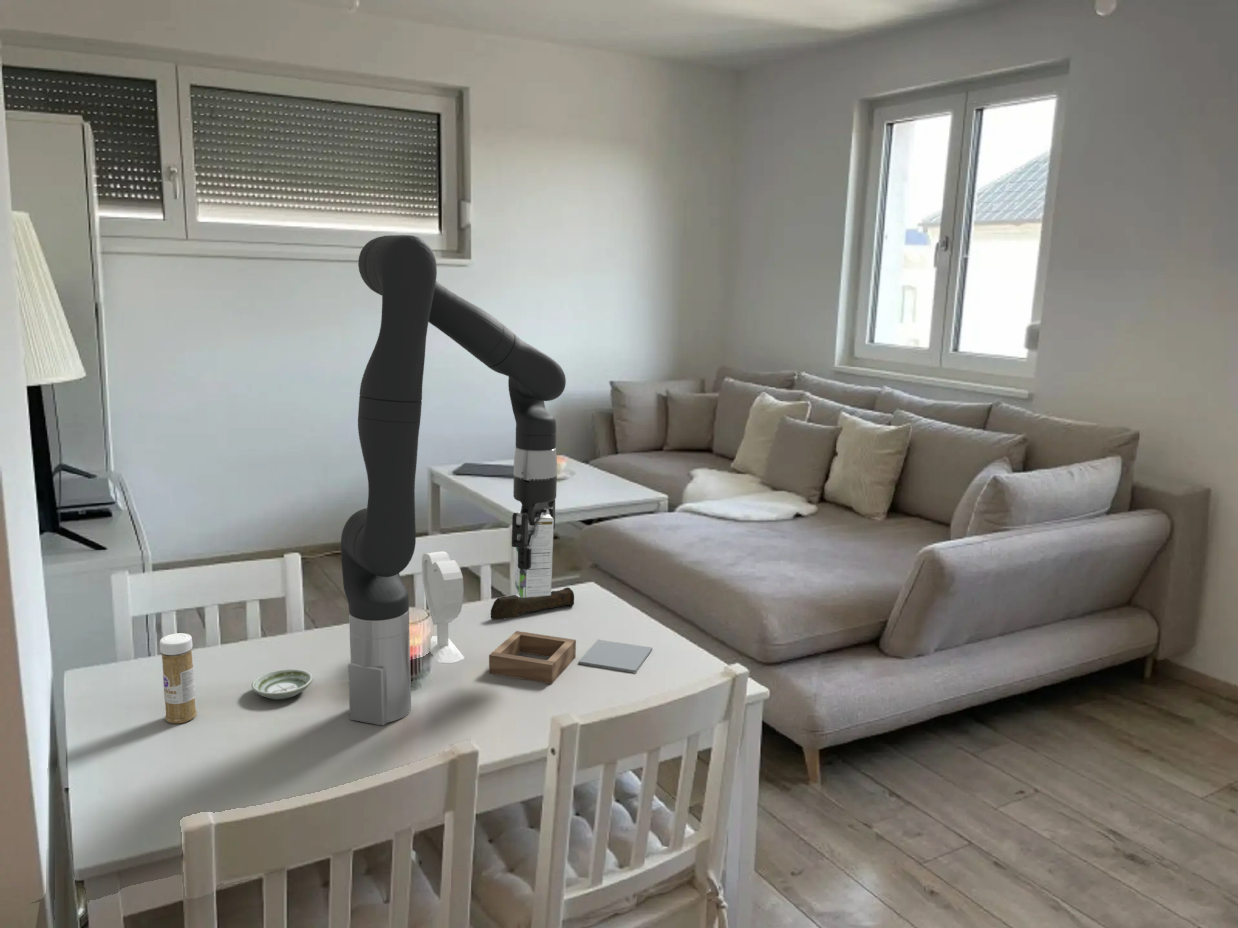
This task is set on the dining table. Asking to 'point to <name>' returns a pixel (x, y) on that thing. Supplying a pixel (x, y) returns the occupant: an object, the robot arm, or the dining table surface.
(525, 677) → the collar
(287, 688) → the saucer
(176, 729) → the dining table surface
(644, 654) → the mat
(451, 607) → the heart sculpture
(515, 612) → the hand tool
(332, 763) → the dining table surface
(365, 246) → the robot arm
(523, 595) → the white drink carton
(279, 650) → the dining table surface
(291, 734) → the dining table surface
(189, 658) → the sprinkles bottle
